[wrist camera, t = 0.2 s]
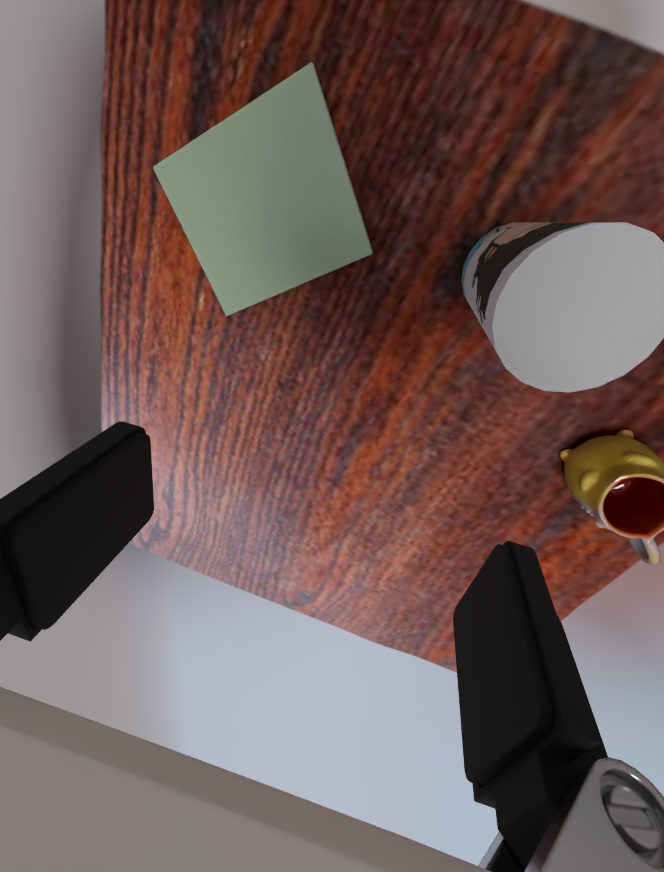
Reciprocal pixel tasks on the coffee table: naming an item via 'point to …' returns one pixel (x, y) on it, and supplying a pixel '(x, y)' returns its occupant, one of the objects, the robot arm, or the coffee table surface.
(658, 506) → the mug
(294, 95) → the mat
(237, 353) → the coffee table surface
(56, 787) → the robot arm
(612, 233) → the cup
